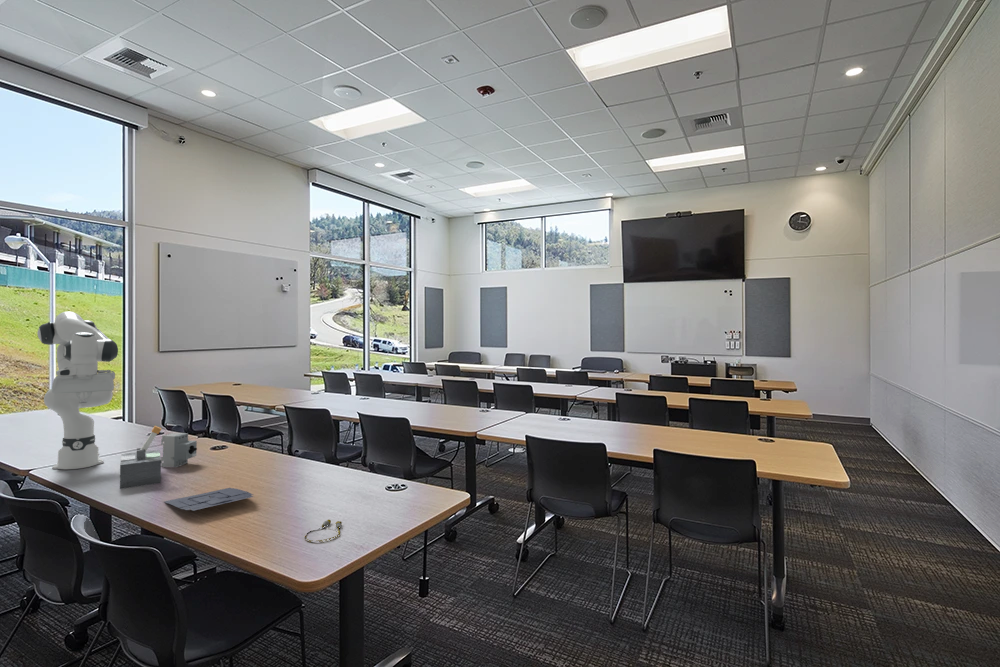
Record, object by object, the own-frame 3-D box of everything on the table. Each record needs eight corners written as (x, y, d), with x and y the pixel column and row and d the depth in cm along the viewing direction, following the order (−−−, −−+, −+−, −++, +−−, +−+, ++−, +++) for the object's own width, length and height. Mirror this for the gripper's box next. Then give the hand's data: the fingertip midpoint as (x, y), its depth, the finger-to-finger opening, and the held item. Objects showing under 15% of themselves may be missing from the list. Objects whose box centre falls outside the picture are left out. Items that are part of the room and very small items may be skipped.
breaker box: (121, 475, 222) (121, 446, 222) (158, 471, 230) (159, 442, 230) (119, 488, 204) (120, 456, 204) (160, 483, 212) (161, 452, 212)
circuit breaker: (189, 467, 237) (190, 436, 237) (160, 466, 237) (161, 436, 237) (199, 463, 244) (200, 433, 244) (171, 462, 245) (172, 432, 245)
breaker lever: (135, 454, 217) (154, 425, 221) (142, 456, 219) (161, 427, 223) (135, 455, 215) (155, 426, 219) (142, 457, 216) (161, 429, 220)
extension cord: (356, 529, 168) (356, 523, 168) (321, 547, 154) (321, 541, 154) (330, 523, 173) (330, 517, 173) (293, 539, 159) (293, 533, 159)
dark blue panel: (187, 520, 169) (187, 509, 170) (162, 508, 189) (162, 499, 190) (259, 502, 188) (259, 493, 188) (230, 494, 207) (230, 485, 208)
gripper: (115, 369, 217) (114, 400, 217) (53, 370, 205) (52, 403, 205) (114, 370, 212) (114, 402, 212) (51, 371, 200) (50, 405, 200)
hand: (83, 402), depth 208 cm, fingers closed
